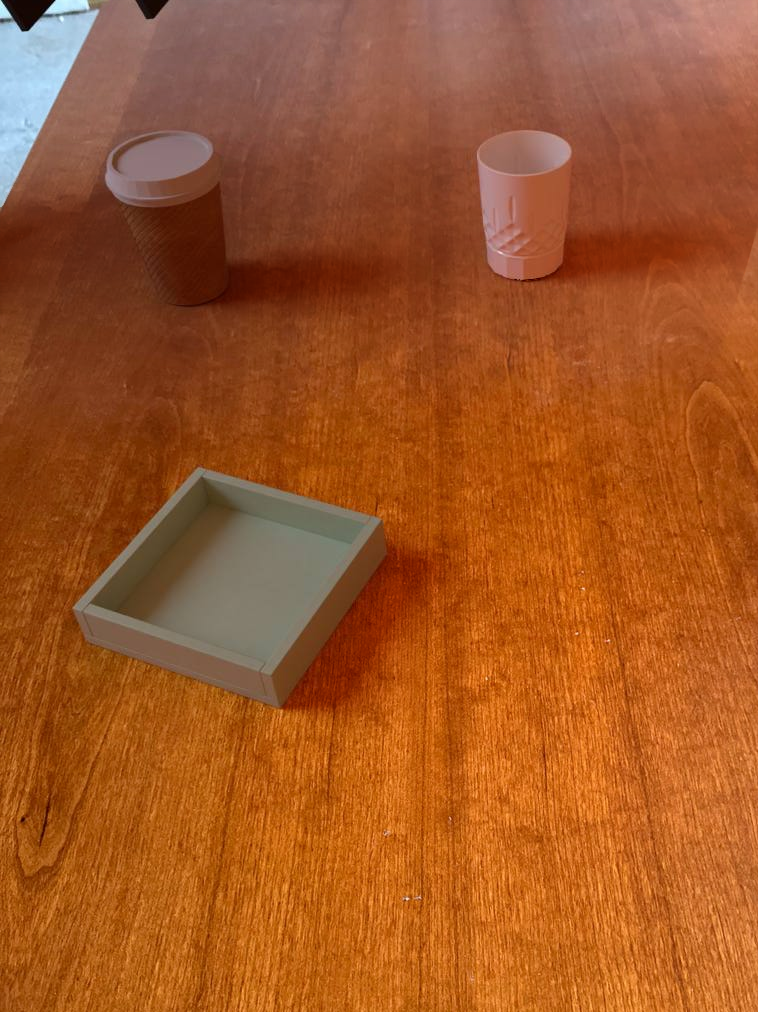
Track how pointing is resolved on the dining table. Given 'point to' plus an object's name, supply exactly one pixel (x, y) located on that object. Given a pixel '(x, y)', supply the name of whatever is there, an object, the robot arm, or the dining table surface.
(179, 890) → the dining table surface
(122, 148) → the disposable coffee cup
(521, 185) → the white cup
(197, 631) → the square tray
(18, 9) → the robot arm
